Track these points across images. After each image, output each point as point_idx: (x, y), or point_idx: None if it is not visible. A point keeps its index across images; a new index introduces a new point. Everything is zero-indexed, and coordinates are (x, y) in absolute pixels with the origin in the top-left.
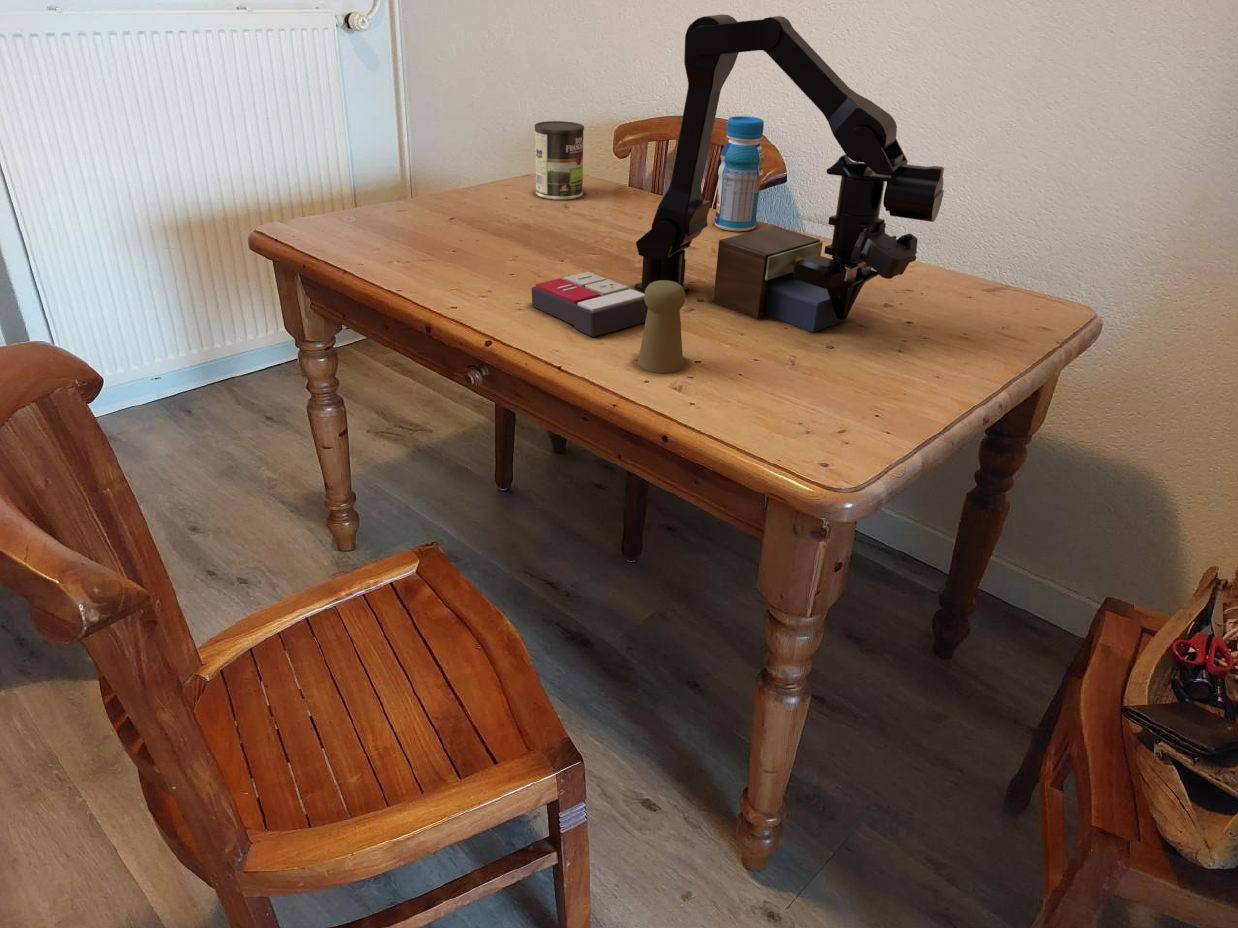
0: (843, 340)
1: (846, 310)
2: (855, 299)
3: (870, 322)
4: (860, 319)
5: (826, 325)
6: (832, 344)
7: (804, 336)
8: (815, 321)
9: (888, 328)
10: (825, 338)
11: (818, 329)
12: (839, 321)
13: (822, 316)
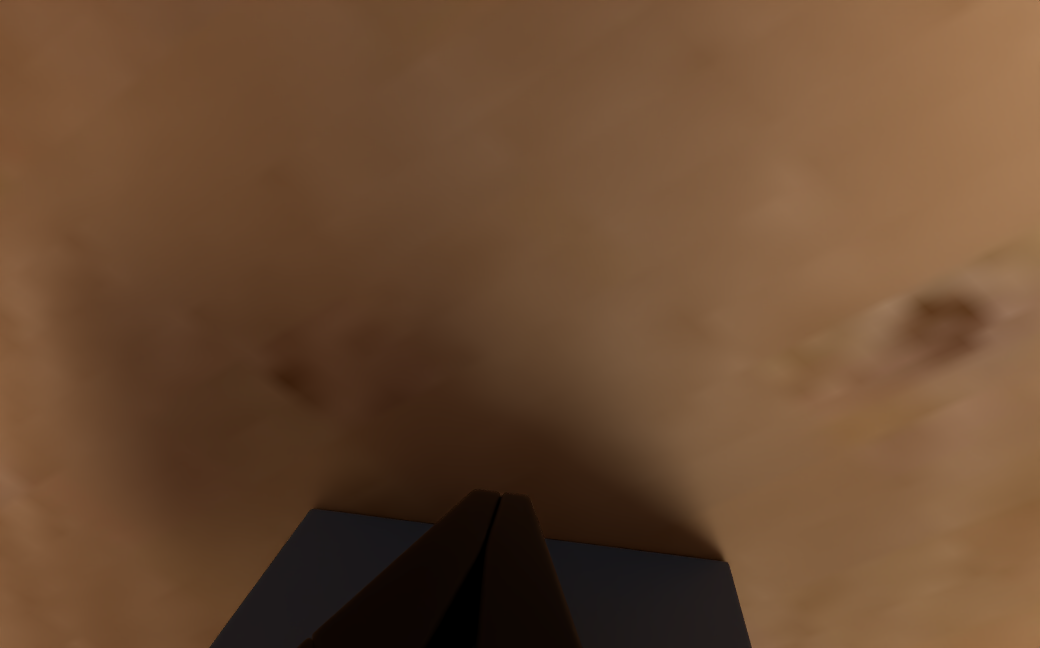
0: (689, 326)
1: (507, 554)
2: (337, 618)
3: (175, 364)
4: (198, 442)
5: (554, 551)
6: (853, 347)
7: (846, 572)
8: (736, 638)
9: (135, 198)
10: (763, 448)
11: (658, 558)
12: (384, 522)
13: (636, 645)
